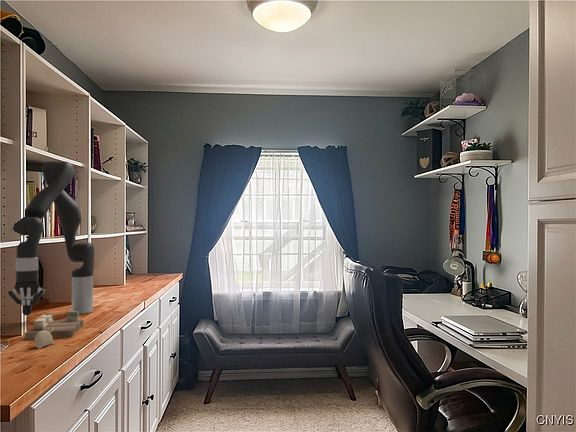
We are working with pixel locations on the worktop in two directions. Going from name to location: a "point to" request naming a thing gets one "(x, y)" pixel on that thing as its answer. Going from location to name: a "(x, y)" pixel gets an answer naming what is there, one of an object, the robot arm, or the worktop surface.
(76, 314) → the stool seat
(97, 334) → the worktop surface
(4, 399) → the worktop surface
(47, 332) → the decorative ornament
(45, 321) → the ash leg
